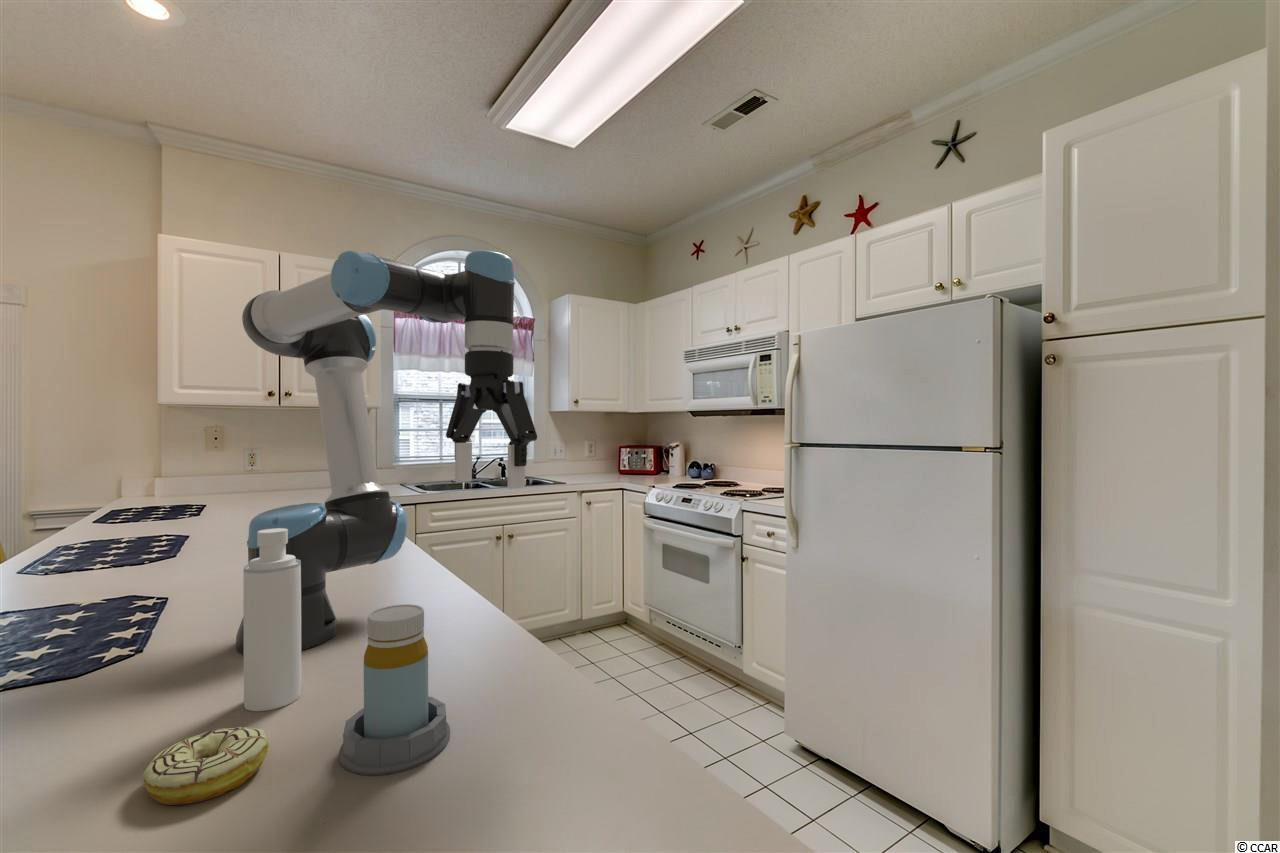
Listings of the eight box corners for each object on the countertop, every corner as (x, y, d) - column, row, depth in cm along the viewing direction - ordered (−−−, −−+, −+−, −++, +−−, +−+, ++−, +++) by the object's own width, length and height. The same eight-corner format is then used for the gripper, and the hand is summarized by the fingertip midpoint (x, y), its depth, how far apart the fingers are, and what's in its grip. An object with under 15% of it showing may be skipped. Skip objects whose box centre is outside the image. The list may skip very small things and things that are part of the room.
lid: (321, 748, 66) (321, 722, 66) (417, 708, 76) (416, 685, 76) (370, 789, 59) (370, 759, 59) (470, 739, 68) (470, 713, 68)
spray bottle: (239, 716, 74) (239, 524, 74) (247, 694, 80) (247, 517, 80) (299, 704, 77) (299, 520, 77) (303, 684, 83) (302, 513, 83)
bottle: (405, 759, 63) (404, 624, 63) (350, 751, 65) (349, 620, 64) (439, 726, 70) (439, 605, 70) (389, 720, 71) (388, 601, 71)
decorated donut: (222, 745, 68) (222, 713, 68) (290, 761, 64) (290, 728, 64) (118, 799, 58) (118, 762, 58) (191, 822, 54) (191, 782, 54)
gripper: (560, 348, 86) (560, 488, 86) (463, 359, 101) (463, 477, 101) (522, 342, 80) (521, 493, 80) (425, 354, 95) (424, 481, 95)
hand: (488, 484), depth 91 cm, fingers open, 13 cm apart
